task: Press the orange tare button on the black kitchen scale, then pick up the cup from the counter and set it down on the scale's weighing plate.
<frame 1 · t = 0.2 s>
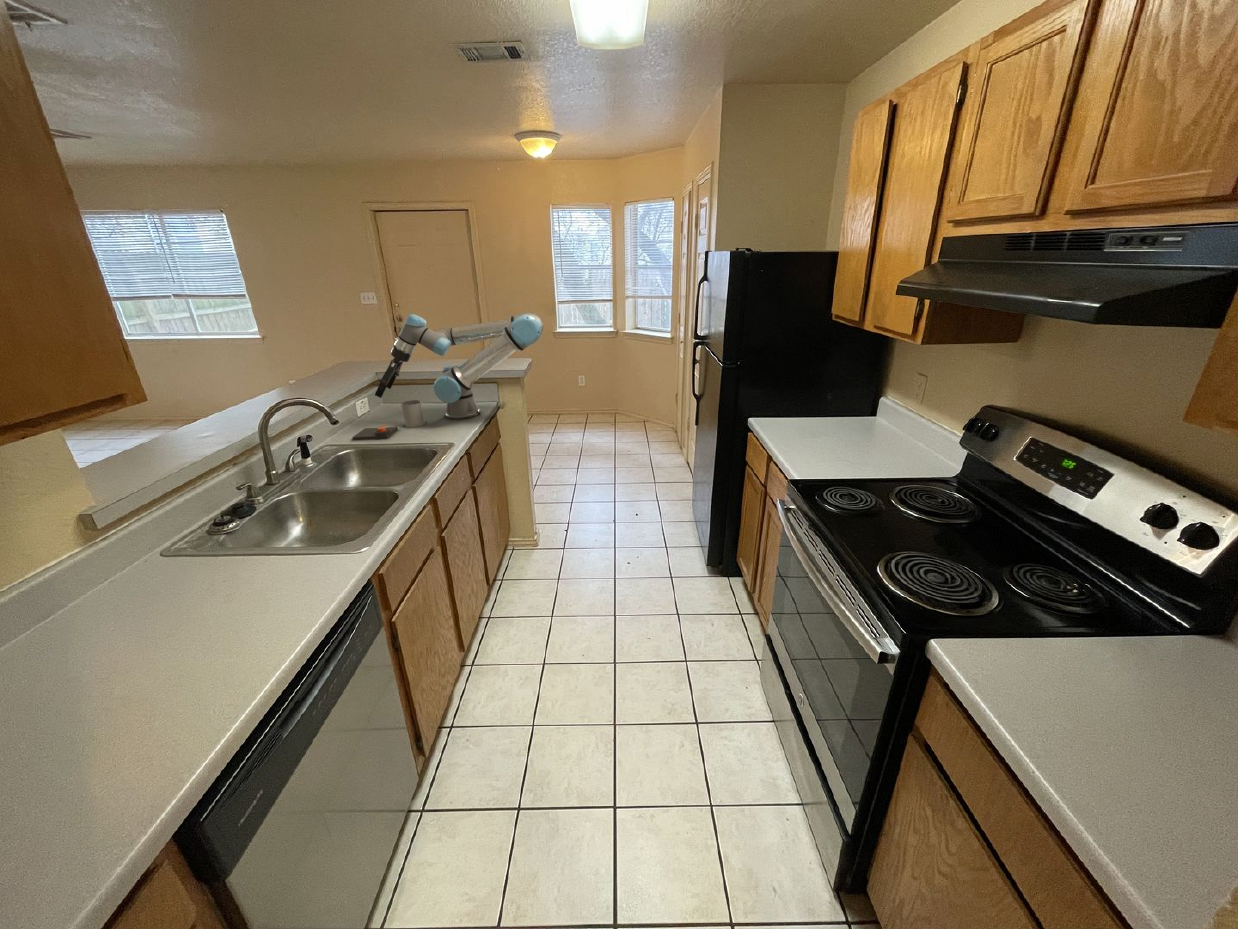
hand: (382, 391, 218), 16 cm above the counter, tool tilted 35°, fingers open, 13 cm apart
tare button: (381, 429, 209), point 3 cm above the counter, slide at 0.1 cm
scale: (376, 435, 213), on the counter
cup: (415, 424, 226), on the counter
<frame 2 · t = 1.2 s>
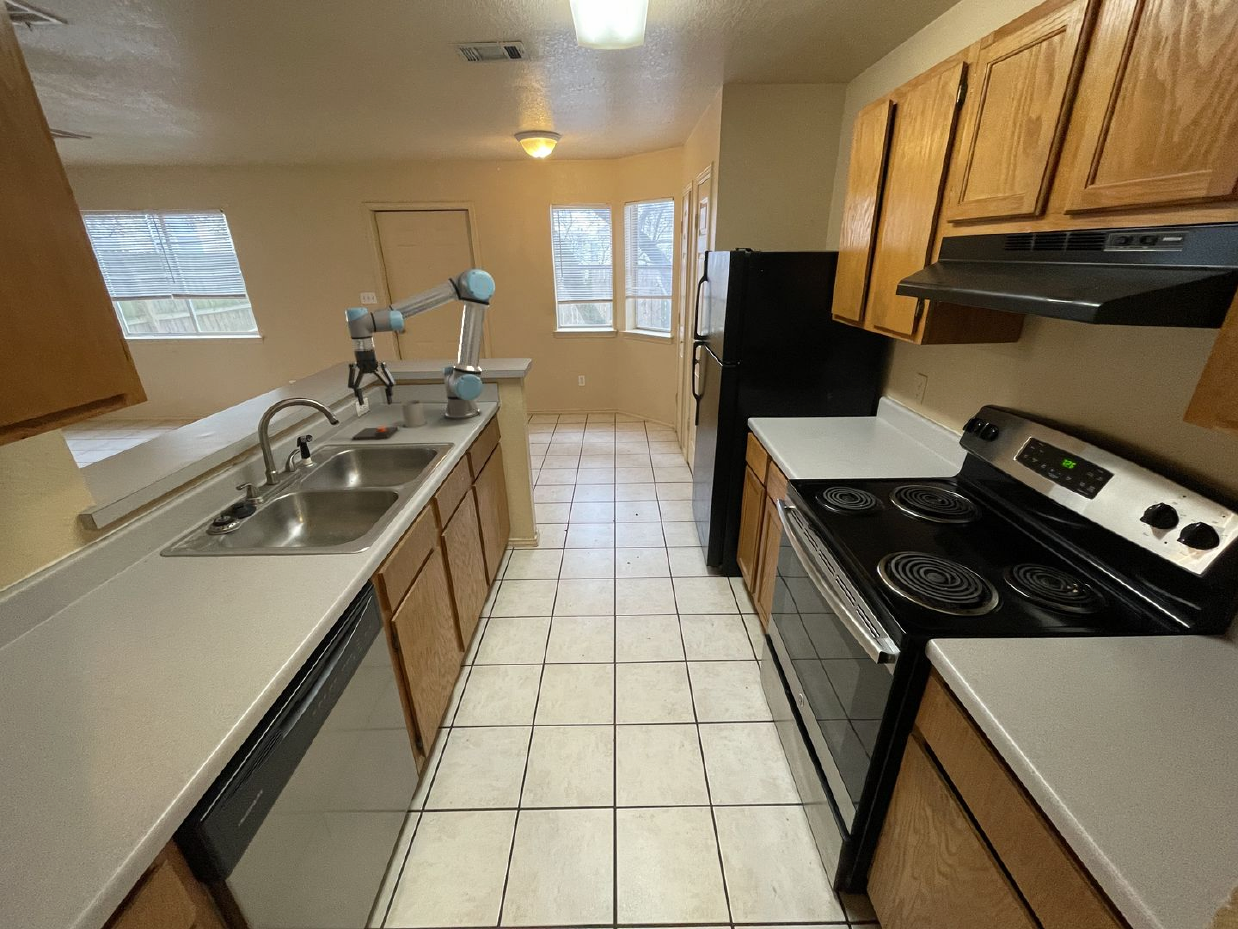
hand: (376, 404, 205), 14 cm above the counter, tool pointing down, fingers open, 11 cm apart
nothing on the counter moved.
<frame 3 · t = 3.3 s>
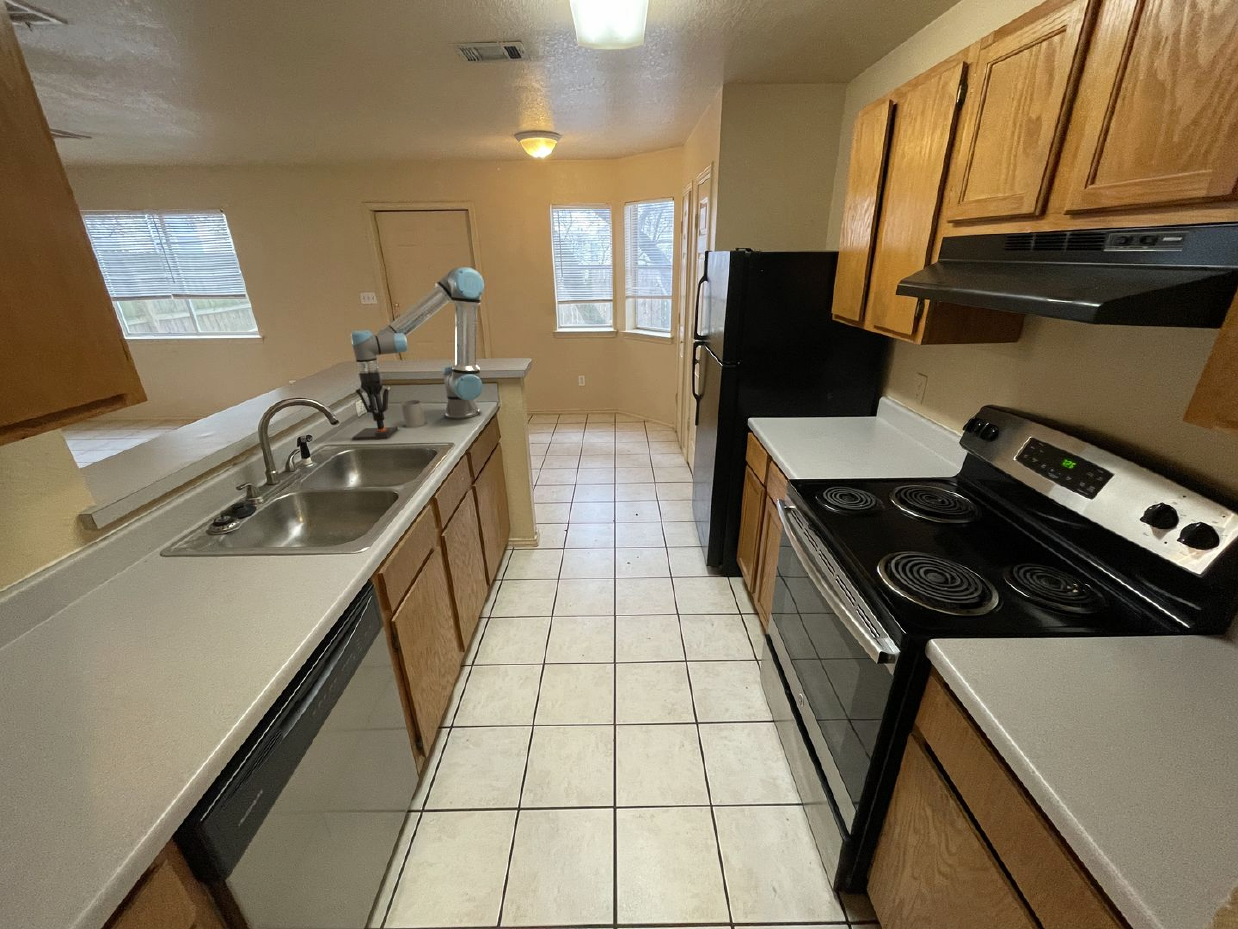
hand: (381, 428, 209), 4 cm above the counter, tool pointing down, fingers closed
tare button: (382, 430, 209), point 3 cm above the counter, slide at -0.3 cm, touching gripper
everything else where it was.
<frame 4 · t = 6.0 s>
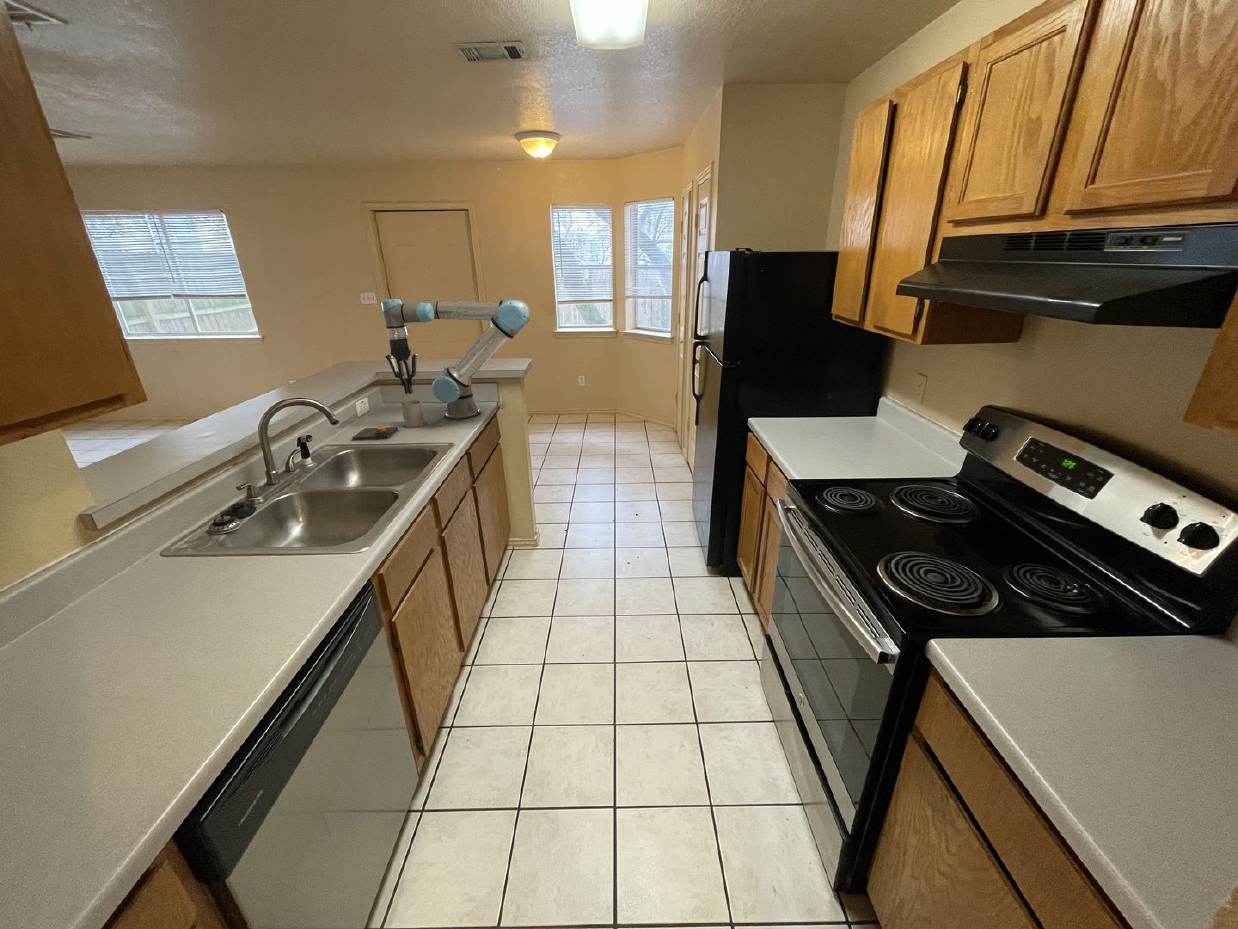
hand: (409, 393, 220), 14 cm above the counter, tool pointing down, fingers closed
tare button: (381, 429, 209), point 3 cm above the counter, slide at 0.1 cm
everything else where it was.
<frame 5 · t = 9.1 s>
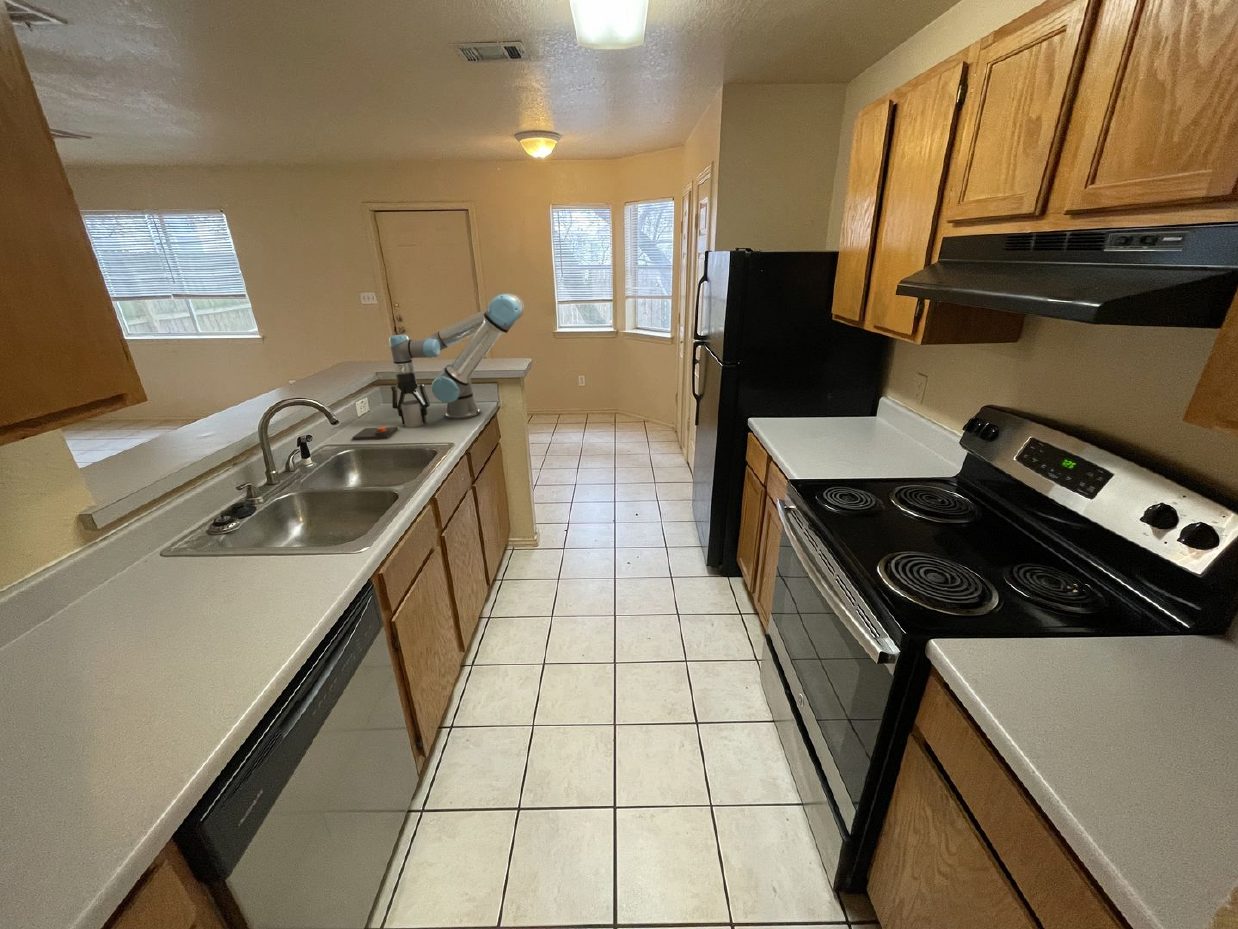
hand: (414, 422, 225), 1 cm above the counter, tool pointing down, fingers closed on cup, 8 cm apart
cup: (415, 424, 226), on the counter, touching gripper
everything else where it was.
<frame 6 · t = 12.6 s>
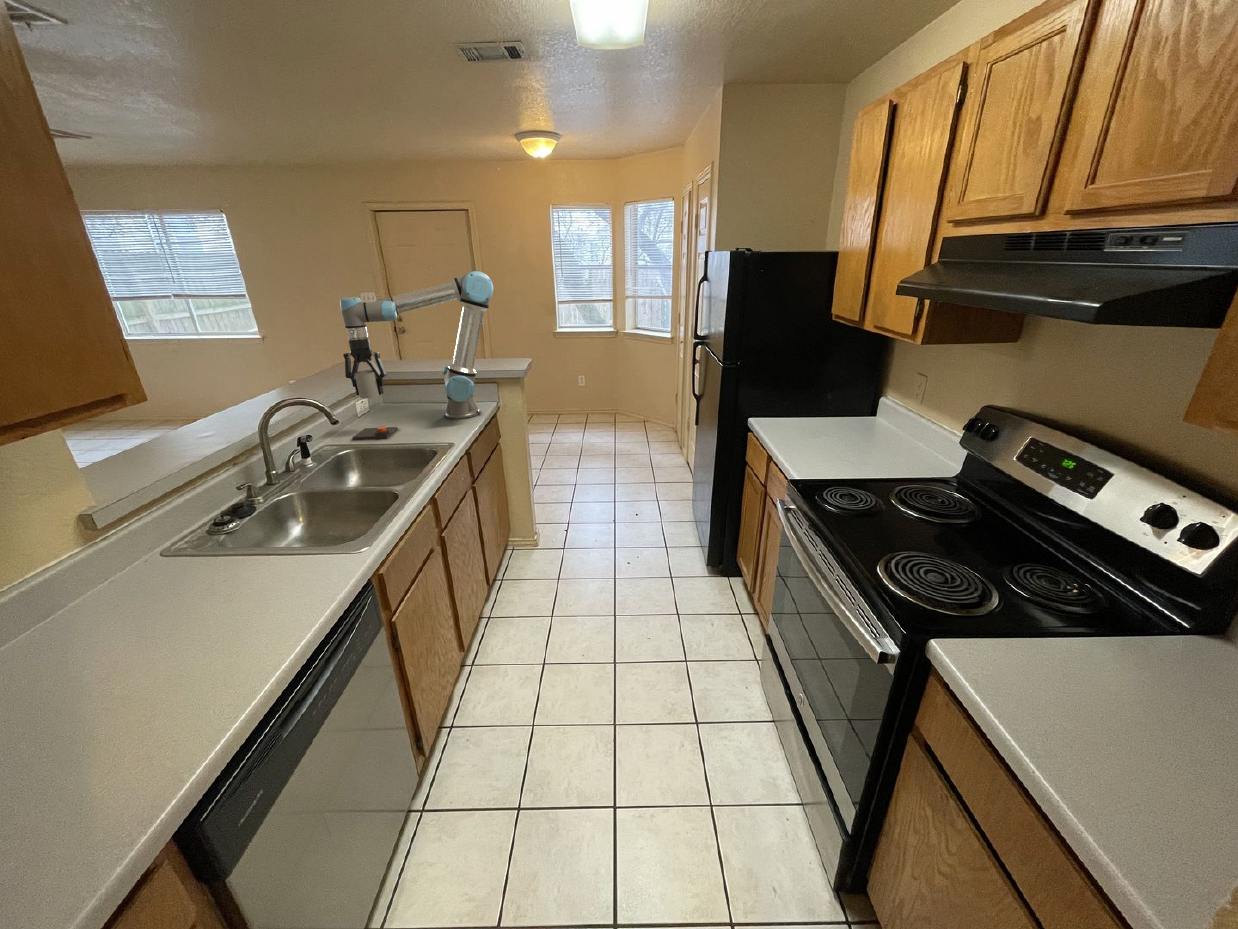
hand: (370, 394, 209), 17 cm above the counter, tool pointing down, fingers closed on cup, 8 cm apart
cup: (371, 396, 210), point 16 cm above the counter, touching gripper
everything else where it was.
when the fingers open (2 cm above the counter, at t = 16.6 s): cup stays where it is, resting on scale.
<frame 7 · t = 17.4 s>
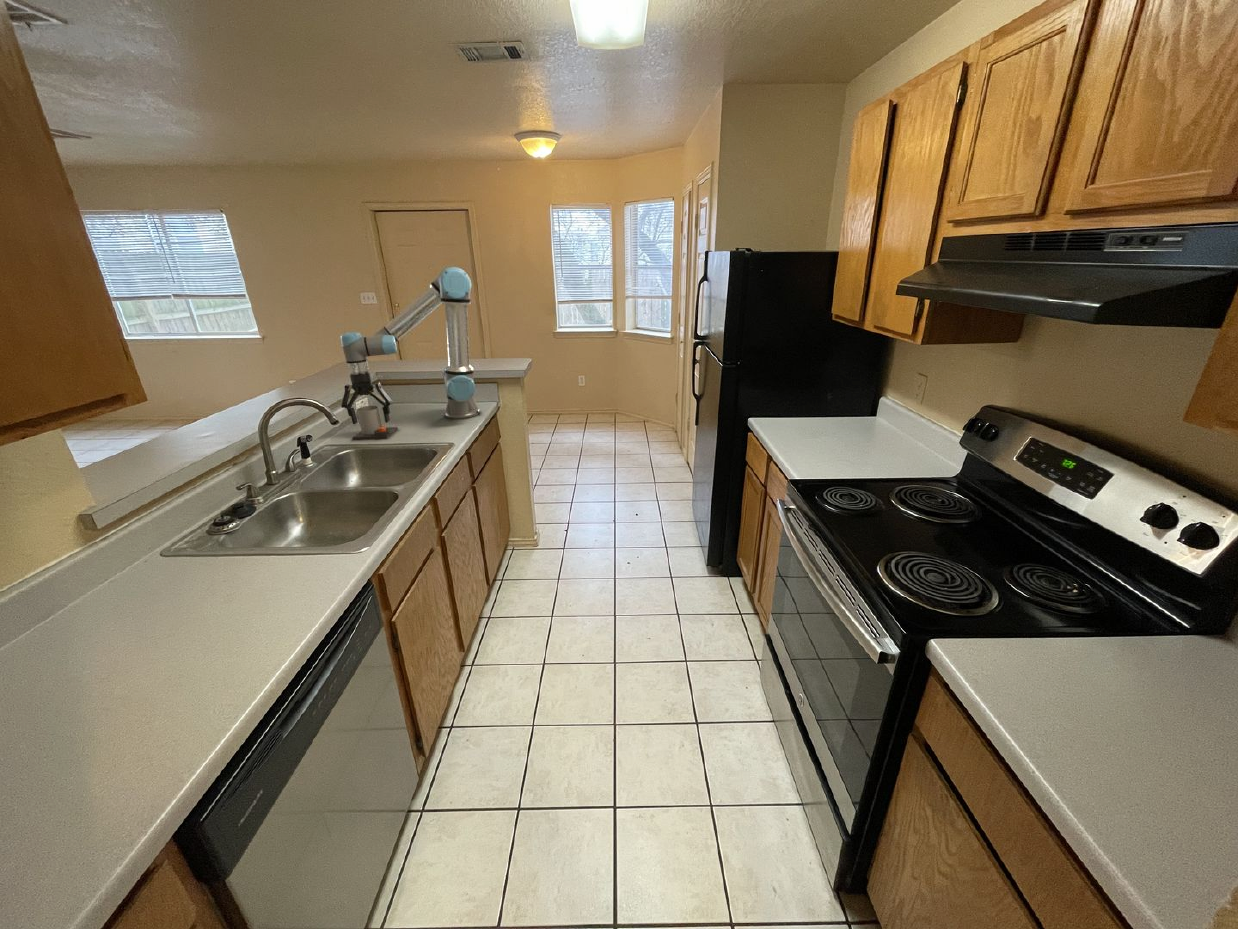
hand: (371, 422, 212), 5 cm above the counter, tool pointing down, fingers open, 13 cm apart
cup: (372, 431, 214), point 1 cm above the counter, touching scale
everything else where it was.
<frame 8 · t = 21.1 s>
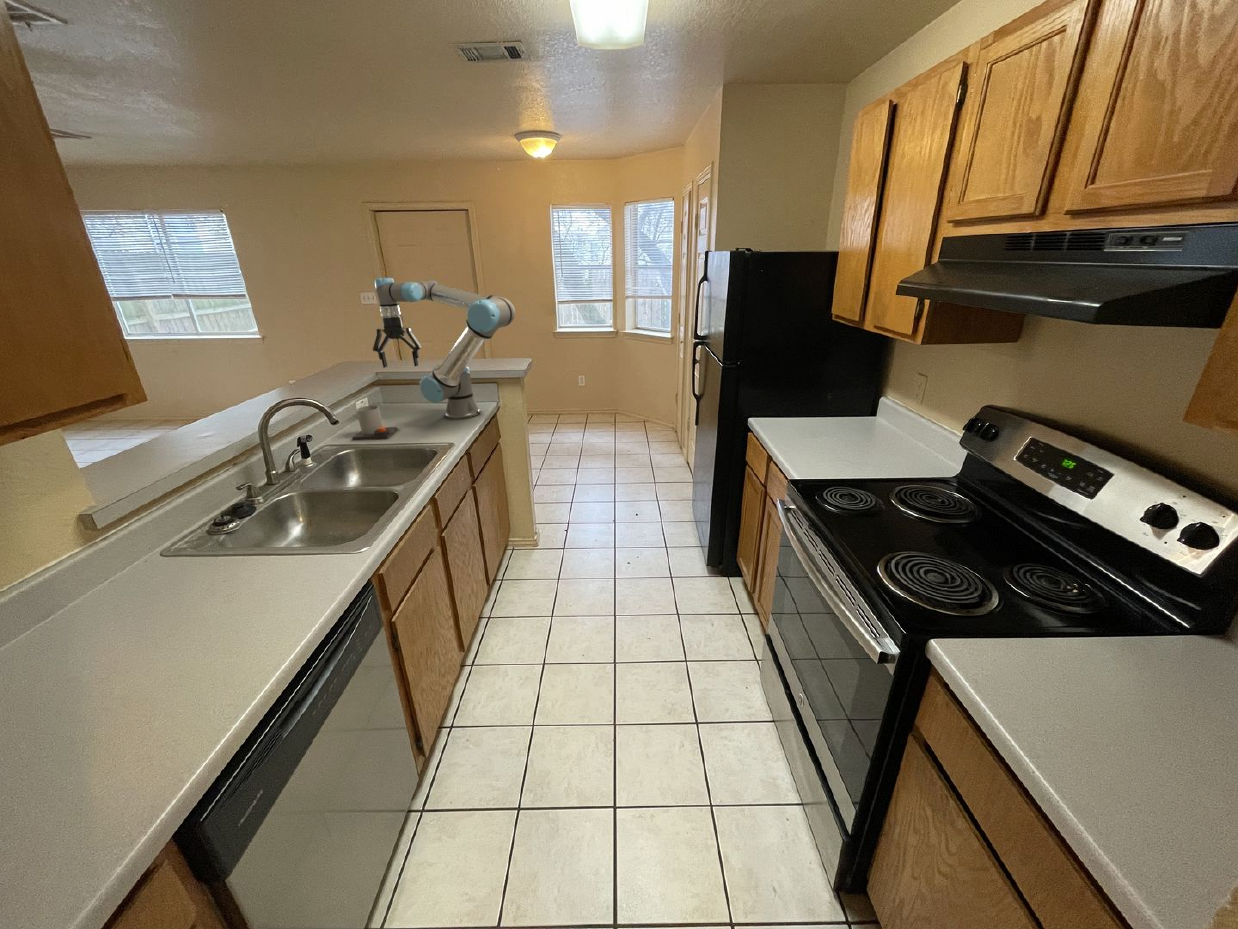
hand: (401, 366, 223), 25 cm above the counter, tool pointing down, fingers open, 13 cm apart
nothing on the counter moved.
at the end: tare button pushed in 0.8 cm at the most during the clip, back to where it started at the end; cup inside the target area on the scale (1.4 cm from its centre), point 1.2 cm above the scale's base; cup touching scale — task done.
